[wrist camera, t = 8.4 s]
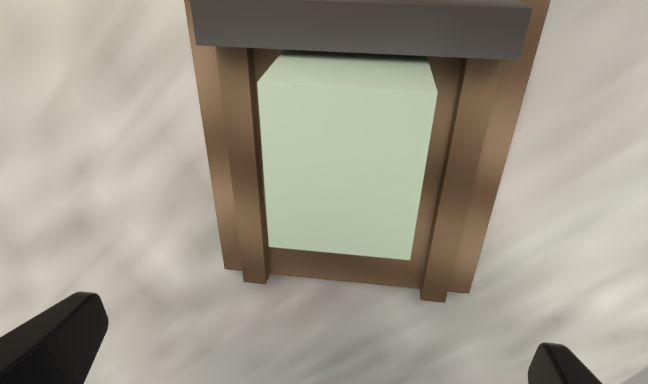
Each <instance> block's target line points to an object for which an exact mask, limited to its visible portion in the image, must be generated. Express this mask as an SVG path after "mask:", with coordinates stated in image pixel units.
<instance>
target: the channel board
mask: <svg viewBox="0 0 648 384" xmlns="http://www.w3.org/2000/svg"><path fill="white" fill-rule="evenodd" d="M184 2H185V9H186V16H187V22H188V29H189V35H190V42H191V49H192V55H193V62H194V69H195V75H196V82H197V88H198V95H199V102H200V108H201V115H202V122H203V128H204V135H205V141H206V148H207V155H208V161H209V168H210V175H211V181H212V188H213V194H214V201H215V208H216V214H217V221H218V227H219V234H220V241H221V247H222V254H223V261H224V267H225V269H228V270H238V271H243V280H244V282H249V283H259V284H266V283H267V280H268V277H269V274H278V275H288V276H298V277H308V278H318V279H328V280H338V281H348V282H358V283H368V284H378V285H388V286H398V287H408V288H418V289H420V297H421V300H424V301H434V302H444V303H445V300H446V296H447V292H458V293H468V294H469V291H470V288H471V284H472V281H473V277H474V273H475V270H476V266H477V263H478V259H479V255H480V252H481V248H482V245H483V241H484V237H485V234H486V230H487V227H488V223H489V219H490V216H491V212H492V209H493V205H494V201H495V198H496V194H497V191H498V187H499V183H500V180H501V176H502V173H503V169H504V165H505V162H506V158H507V155H508V151H509V147H510V144H511V140H512V137H513V133H514V130H515V126H516V122H517V119H518V115H519V112H520V108H521V104H522V101H523V97H524V94H525V90H526V86H527V83H528V79H529V76H530V72H531V68H532V65H533V61H534V58H535V54H536V50H537V47H538V43H539V40H540V36H541V32H542V29H543V25H544V22H545V18H546V14H547V11H548V7H549V4H550V0H184ZM284 49H285V50H307V51H328V52H350V53H371V54H393V55H415V56H427V59H428V62H429V65H430V69H431V72H432V75H433V78H434V82H435V85H436V88H437V92H438V94H437V100H436V106H435V112H434V118H433V124H432V130H431V136H430V142H429V148H428V154H427V160H426V166H425V172H424V178H423V185H422V191H421V197H420V203H419V209H418V215H417V221H416V227H415V233H414V239H413V245H412V251H411V257H410V260H403V259H392V258H381V257H371V256H360V255H350V254H339V253H329V252H318V251H308V250H297V249H287V248H276V247H269V242H268V228H267V214H266V200H265V185H264V171H263V157H262V143H261V129H260V115H259V101H258V87H257V82H258V81H259V79H260V78H261V77H262V76H263V75H264V73H265V72H266V71H267V70H268V68H269V67H270V66H271V65H272V64H273V62H274V61H275V60H276V59H277V58H278V56H279V55H280V54H281V53H282V52H283V50H284Z"/></svg>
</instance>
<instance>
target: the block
mask: <svg viewBox="0 0 648 384" xmlns="http://www.w3.org/2000/svg"><path fill="white" fill-rule="evenodd" d="M257 87H258V101H259V115H260V129H261V143H262V157H263V171H264V185H265V200H266V214H267V228H268V242H269V247H276V248H287V249H297V250H308V251H318V252H329V253H339V254H350V255H360V256H371V257H381V258H392V259H403V260H410V257H411V251H412V245H413V239H414V233H415V227H416V221H417V215H418V209H419V203H420V197H421V191H422V185H423V178H424V172H425V166H426V160H427V154H428V148H429V142H430V136H431V130H432V124H433V118H434V112H435V106H436V100H437V94H438V92H437V88H436V85H435V82H434V78H433V75H432V72H431V69H430V65H429V62H428V59H427V56H415V55H393V54H371V53H350V52H328V51H307V50H285V49H284V50H283V52H282V53H281V54H280V55H279V56H278V58H277V59H276V60H275V61H274V62H273V64H272V65H271V66H270V67H269V68H268V70H267V71H266V72H265V73H264V75H263V76H262V77H261V78H260V79H259V81H258V82H257Z"/></svg>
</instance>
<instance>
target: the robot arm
mask: <svg viewBox="0 0 648 384" xmlns="http://www.w3.org/2000/svg"><path fill="white" fill-rule="evenodd" d="M108 323H109V322H108V316H107V314H106V311H105V309H104V306H103V303H102V301H101V298H100V296H99V295H98V294H96V293H90V292H76V293H74V294H72V295H70V296H69V297H67V298H65V299H64V300H62V301H60V302H59V303H57V304H55V305H54V306H52V307H50V308H49V309H47V310H45V311H44V312H42V313H40V314H39V315H37V316H35V317H34V318H32V319H30V320H29V321H27V322H25V323H24V324H22V325H20V326H18V327H17V328H15V329H13V330H12V331H10V332H8V333H7V334H5V335H3V336H2V337H0V384H84V382H85V379H86V377H87V375H88V373H89V370H90V368H91V366H92V364H93V361H94V359H95V357H96V354H97V352H98V350H99V348H100V345H101V343H102V341H103V339H104V336H105V334H106V332H107V329H108ZM528 383H529V384H602V383H601V382H600V381H599V380H598V379H597V377H596V376H595V375H594V374H593V373H592V372H591V371H590V370H589V369H588V368H587V367H586V366H585V365H584V364H583V363H582V362H581V361H580V360H579V359H578V358H577V357H576V356H575V355H574V354H573V353H572V352H571V351H570V350H569V349H568V348H567V347H566V346H564V345H562V344H555V343H541V344H540V345H539V346H538V348H537V351H536V353H535V355H534V357H533V360H532V362H531V364H530V366H529V369H528Z"/></svg>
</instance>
